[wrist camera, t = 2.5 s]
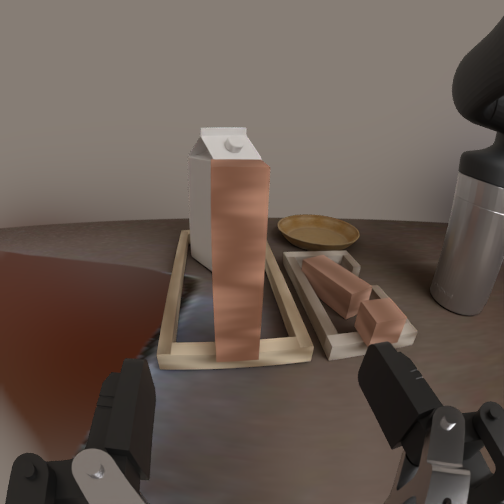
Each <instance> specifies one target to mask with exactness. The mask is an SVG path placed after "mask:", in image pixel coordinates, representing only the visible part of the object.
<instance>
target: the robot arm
mask: <svg viewBox="0 0 504 504" xmlns="http://www.w3.org/2000/svg"><path fill="white" fill-rule="evenodd" d="M452 95H453V101H454V104H455V106H456V109H457V110H458V112H459V113H460V114H461V115H462V116H463V117H464V118H465V119H467V120H469V121H470V122H472V123H474V124H477V125H480V126H483V127H485V128H489V129H491V130H494V131H497V134H496V139H495V142H494V144H493V145H492V146H490V147H488V148H486V149H482V150H475V151H466V152H464V153H463V154H462V155H461V159H460V164H459V173H458V179H457V185H456V190H455V196H454V201H453V206H452V211H451V215H450V220H449V224H448V228H447V232H446V236H445V240H444V244H443V248H442V251H441V255H440V258H439V262H438V265H437V268H436V271H435V274H434V278H433V281H432V284H431V287H430V292H431V295H432V296H433V298H434V299H435V300H436V301H437V302H438V303H439V304H440V305H442V306H443V307H445V308H447V309H449V310H450V311H453V312H455V313H458V314H462V315H476V314H478V313H480V312H481V310H482V308H483V306H484V305H486V303H487V300H488V298H489V295H490V293H491V290H492V288H493V285H494V283H495V280H496V277H497V275H498V272H499V269H500V266H501V263H502V260H503V257H504V16H503V18H502V19H501V20H500V22H499V23H498V24H497V25H496V26H495V28H494V29H493V30H492V31H491V32H490V33H489V34H488V35H487V36H486V37H485V38H484V39H483V40H482V41H481V42H480V43H479V44H477V45H476V46H475V47H474V48H473V49H472V50H471V51H470V52H469V53H468V54H467V55H466V56H465V57H464V58H463V60H462V61H461V62H460V64H459V66H458V68H457V70H456V73H455V75H454V79H453V85H452ZM358 382H359V385H360V387H361V389H362V391H363V393H364V395H365V397H366V399H367V401H368V403H369V405H370V407H371V409H372V411H373V413H374V415H375V417H376V419H377V421H378V423H379V425H380V427H381V429H382V431H383V433H384V435H385V437H386V439H387V441H388V443H389V445H390V447H391V449H395V448H398V447H400V446H403V448H404V451H403V452H402V455H401V458H400V462H399V466H398V470H397V473H396V477H395V480H394V483H393V487H392V490H391V492H390V495H389V496H388V498H387V499H386V501H385V502H384V504H504V409H503V408H502V407H501V406H500V405H499V404H497V403H495V402H486V403H484V404H483V405H482V406H481V407H480V409H479V410H478V411H477V412H470V413H461V412H460V411H459V410H458V409H456V408H454V407H452V406H443V405H442V404H441V402H440V401H439V399H438V398H437V396H436V395H435V393H434V392H433V391H432V389H431V388H430V386H429V385H428V383H427V382H426V380H425V379H424V378H422V375H421V373H420V372H419V371H417V368H416V366H415V365H414V364H413V362H412V361H411V360H410V359H409V358H408V357H407V356H405V355H404V354H402V353H401V352H397V351H396V350H395V348H394V347H393V345H392V344H391V343H390V342H388V341H386V342H381V343H375V344H370V345H369V346H368V348H367V351H366V353H365V356H364V359H363V362H362V364H361V367H360V369H359V372H358ZM99 396H100V397H99V399H98V402H97V408H96V410H95V414H94V417H93V421H92V425H91V429H90V434H89V438H88V442H87V446H86V448H85V449H84V450H83V451H81V452H80V453H78V454H77V455H76V456H75V458H73V459H70V460H64V461H50V462H45V461H44V460H43V459H42V458H41V457H40V456H38V455H36V454H33V453H25V454H22V455H20V456H19V457H17V459H16V460H15V461H14V463H13V466H12V471H11V475H10V480H9V485H8V491H7V497H6V503H5V504H149V503H148V502H147V500H146V499H145V498H144V496H143V495H142V494H141V493H140V491H139V489H140V480H149V478H150V461H151V447H152V434H153V423H154V413H155V404H156V394H155V387H154V383H153V380H152V376H151V373H150V369H149V365H148V362H147V360H146V359H127V358H126V359H125V360H124V362H123V365H122V369H121V373H113V372H112V373H111V374H110V375H109V376H108V377H107V378H106V380H105V381H104V382H103V384H102V388H101V392H100V395H99ZM484 446H485V447H486V449H487V450H488V452H489V454H490V456H491V458H492V460H493V461H494V463H495V466H496V471H495V473H494V474H492V473H491V471H490V469H489V467H488V466H487V464H486V462H485V460H484V458H483V456H482V454H481V452H480V450H481V449H482V448H483V447H484Z"/></svg>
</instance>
